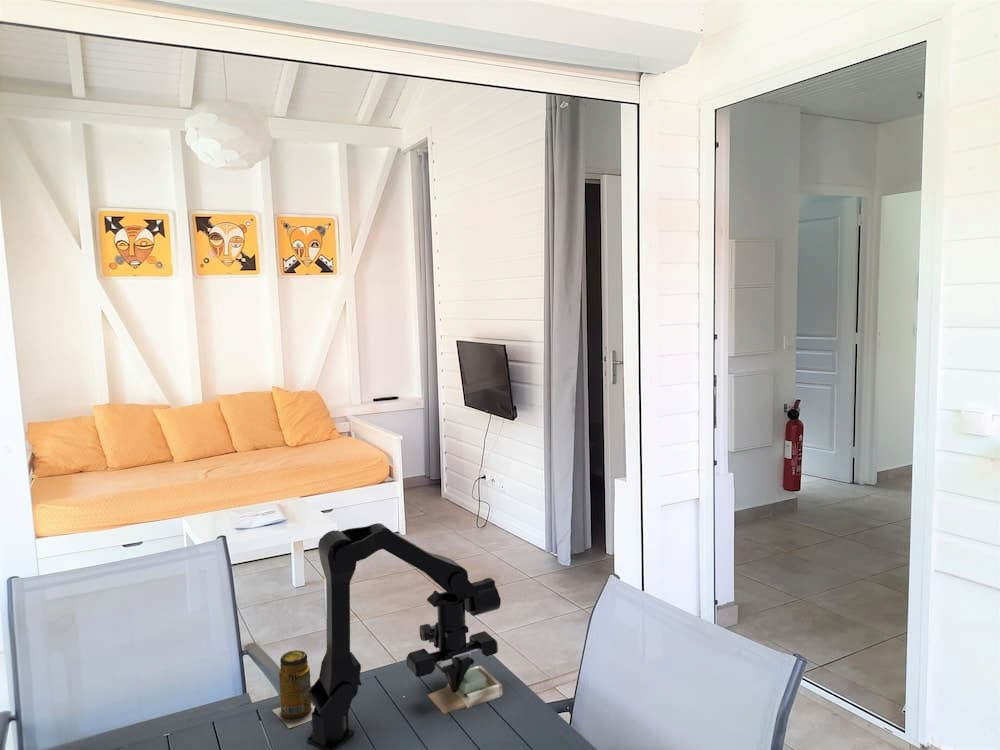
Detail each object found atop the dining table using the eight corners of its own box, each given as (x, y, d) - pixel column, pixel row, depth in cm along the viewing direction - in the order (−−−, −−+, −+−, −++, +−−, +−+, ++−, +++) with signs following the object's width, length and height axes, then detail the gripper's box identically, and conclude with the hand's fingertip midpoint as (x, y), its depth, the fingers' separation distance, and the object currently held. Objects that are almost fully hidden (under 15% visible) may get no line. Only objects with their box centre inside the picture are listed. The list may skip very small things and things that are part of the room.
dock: (445, 717, 146) (445, 703, 145) (426, 695, 154) (425, 682, 153) (502, 698, 152) (502, 685, 152) (480, 677, 160) (480, 665, 160)
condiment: (305, 698, 153) (302, 644, 152) (323, 715, 147) (320, 659, 145) (272, 711, 148) (268, 655, 147) (289, 729, 142) (285, 672, 141)
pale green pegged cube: (465, 698, 150) (464, 681, 150) (455, 688, 155) (454, 671, 154) (486, 691, 153) (486, 675, 152) (475, 681, 157) (475, 665, 157)
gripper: (473, 596, 161) (475, 662, 163) (395, 616, 152) (398, 686, 154) (498, 615, 152) (500, 685, 153) (415, 638, 143) (418, 712, 144)
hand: (454, 691), depth 152 cm, fingers closed
